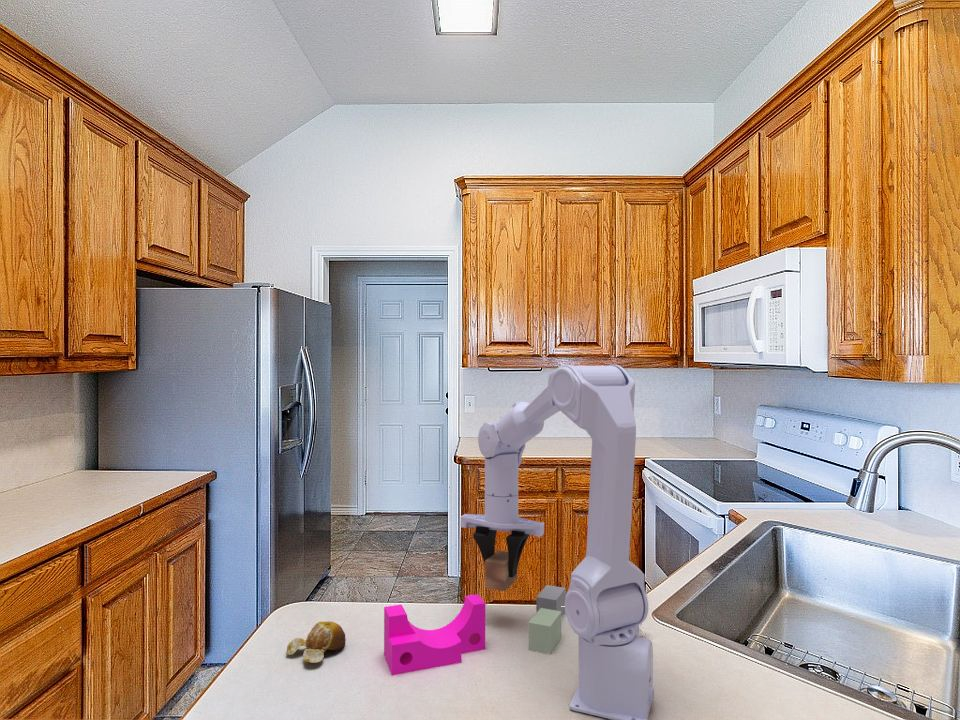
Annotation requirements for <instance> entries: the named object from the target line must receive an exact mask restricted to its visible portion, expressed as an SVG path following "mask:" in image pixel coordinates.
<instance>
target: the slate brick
mask: <svg viewBox="0 0 960 720" xmlns="http://www.w3.org/2000/svg"><path fill="white" fill-rule="evenodd" d="M566 589H567V588H566V587H561V586H555V585H549V584H546V585H545V586H544V588H543V589H542V590H541V591H540V592H539V594H538V595H536V597H535V598H536V601H535V603H536V605H535V607H536V608H535V609H536V611H535V614H536V613H537V612H538V610H539V609H540V608H545V609H550V610H556V611H561V618H562V617H563V616H562V615H564V614H566V613H565V607H561V606H565V597H566V594H567V591H566Z"/></svg>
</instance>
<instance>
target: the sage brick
mask: <svg viewBox="0 0 960 720" xmlns="http://www.w3.org/2000/svg"><path fill="white" fill-rule="evenodd" d="M560 638H561V639H562V617H561V611H556V610H550V609H545V608H540V609H539V610H538V612H537V613H536V612H535V614H534V615H533V616H532V618H531V619H530V620H529V621H528V651H531V652H536V651H538V652H537V653H541V652H542V654H546V653H549V654H548V655H552V653H553V651H554V650H555V648H556V647H557V645H558V643H559V642H560V640H561V639H560ZM559 639H560V640H559ZM558 641H559V642H558ZM556 644H557V645H556ZM555 646H556V647H555ZM553 649H554V650H553ZM551 652H552V653H551Z"/></svg>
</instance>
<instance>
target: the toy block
mask: <svg viewBox="0 0 960 720" xmlns="http://www.w3.org/2000/svg"><path fill="white" fill-rule="evenodd" d="M486 606H487V605H486V602H485V601H484V600H483V598H482V597H481V596H479V594H469V595H465V598H464V601H463V605H462V607H461V609H460V611H459V613H458V614H457V615H456V617H455V618H454V619H453V620H452V621H450V622H449V623H447V624H446V625H444V626H442V627H439V628H435V629H422V628H421V627H418V626H415V625H414V624H413V623H411V621H409V619H408V614H407V612H406V610H405V608H404V606H403V605H402V604H395V605H388V606H387V605H386V606H384V608H383V656H384V658H385V661H386V664H387V666H388V669H389V671H390V674H391V676H396V675H401V674H407V673H413V672H418V671H423V670H428V669H434V668H440V667H445V666H452V665H456V664H461V663H462V655H463V654H468V653H474V652H479V651H485V650H486Z"/></svg>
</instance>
